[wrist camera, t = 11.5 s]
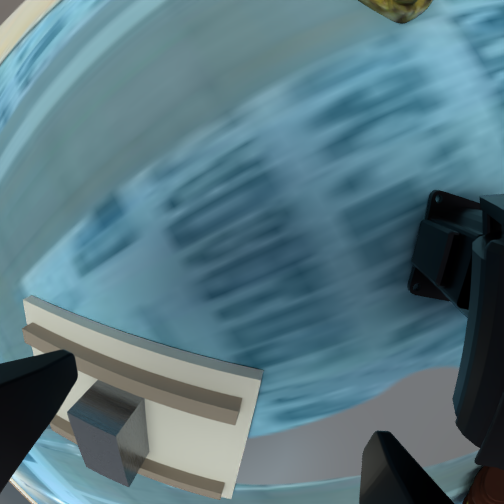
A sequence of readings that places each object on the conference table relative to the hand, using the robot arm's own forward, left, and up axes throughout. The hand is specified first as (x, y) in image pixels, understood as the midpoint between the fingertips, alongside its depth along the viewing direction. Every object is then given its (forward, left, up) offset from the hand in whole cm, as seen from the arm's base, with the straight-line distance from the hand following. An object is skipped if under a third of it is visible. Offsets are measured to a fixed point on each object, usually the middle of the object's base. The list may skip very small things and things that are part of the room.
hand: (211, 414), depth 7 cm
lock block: (+10, +16, -11) cm, 22 cm away
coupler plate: (+10, +16, -12) cm, 22 cm away
